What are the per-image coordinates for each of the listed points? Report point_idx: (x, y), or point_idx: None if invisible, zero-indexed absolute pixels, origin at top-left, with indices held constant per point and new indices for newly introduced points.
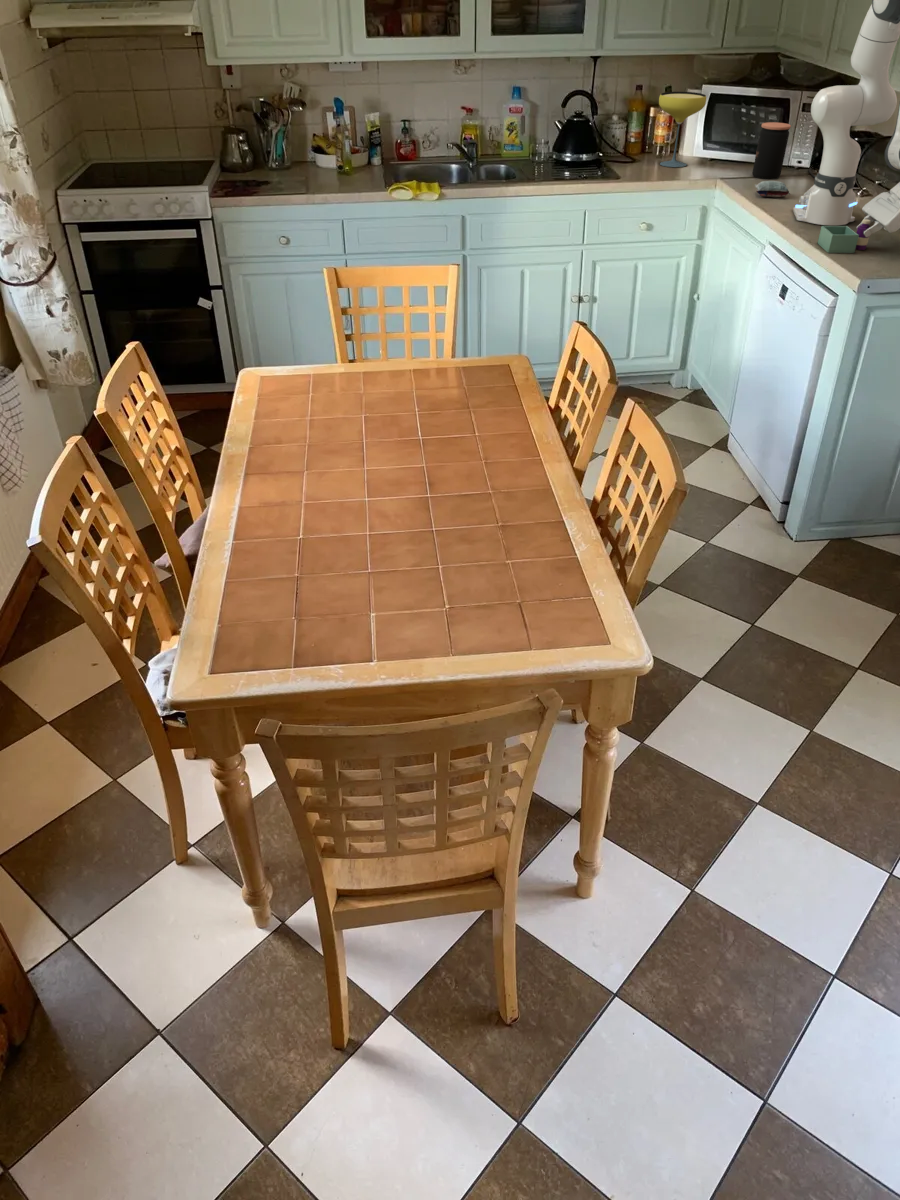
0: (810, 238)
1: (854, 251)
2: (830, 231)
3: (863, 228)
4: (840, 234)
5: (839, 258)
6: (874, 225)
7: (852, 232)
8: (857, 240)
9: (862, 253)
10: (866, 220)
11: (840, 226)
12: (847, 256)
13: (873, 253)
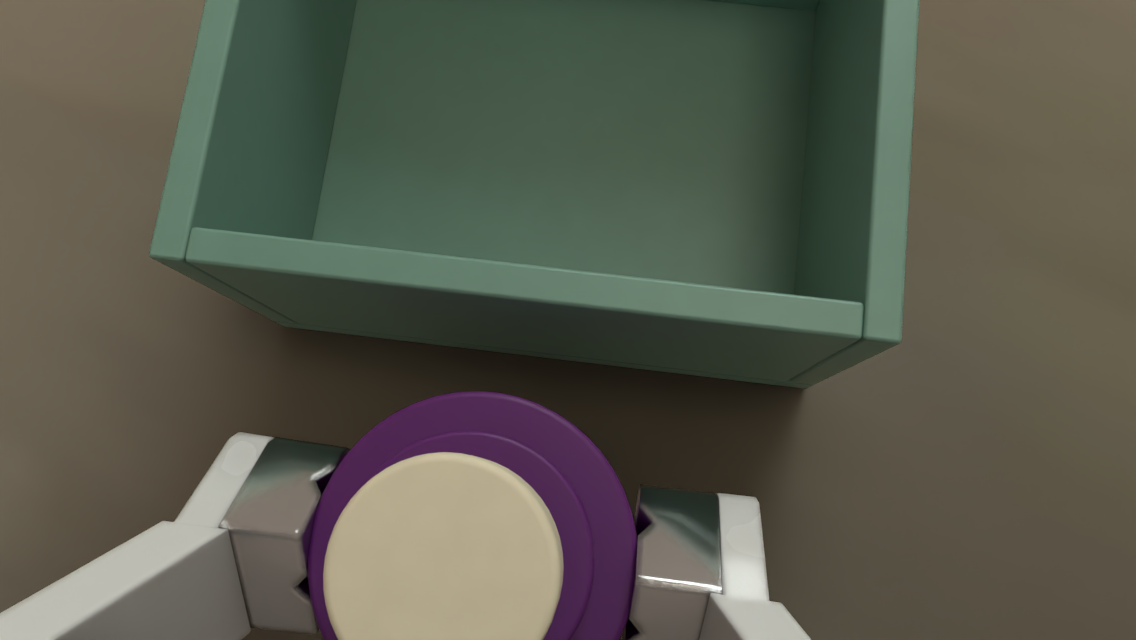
0: (1112, 18)
1: (277, 321)
2: (851, 47)
3: (369, 467)
4: (823, 263)
5: (86, 8)
6: (22, 618)
7: (441, 259)
8: (202, 282)
9: None
10: (410, 552)
11: (871, 174)
12: (149, 154)
13: None
